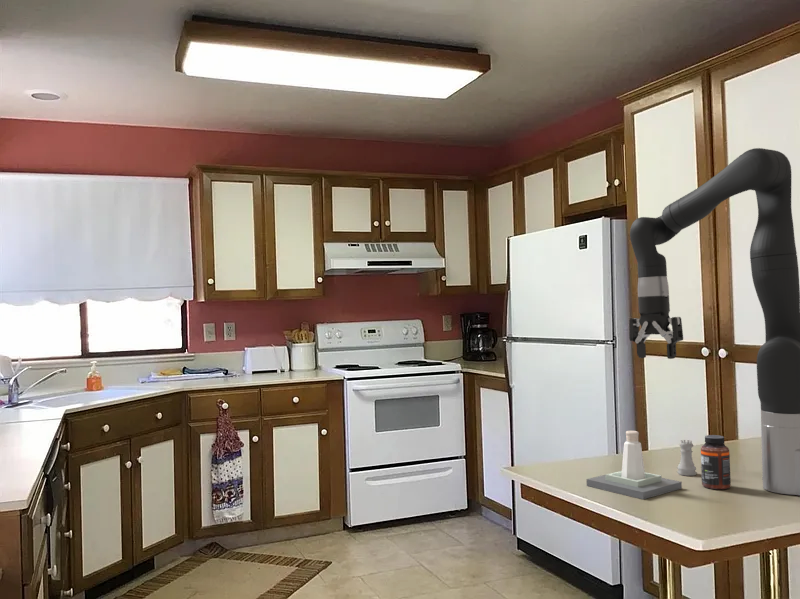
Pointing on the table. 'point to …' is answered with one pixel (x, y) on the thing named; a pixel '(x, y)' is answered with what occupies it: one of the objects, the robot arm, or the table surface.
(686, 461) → the rook chess piece
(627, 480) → the baseplate
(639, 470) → the pepper shaker
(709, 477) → the supplement bottle
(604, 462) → the table surface
